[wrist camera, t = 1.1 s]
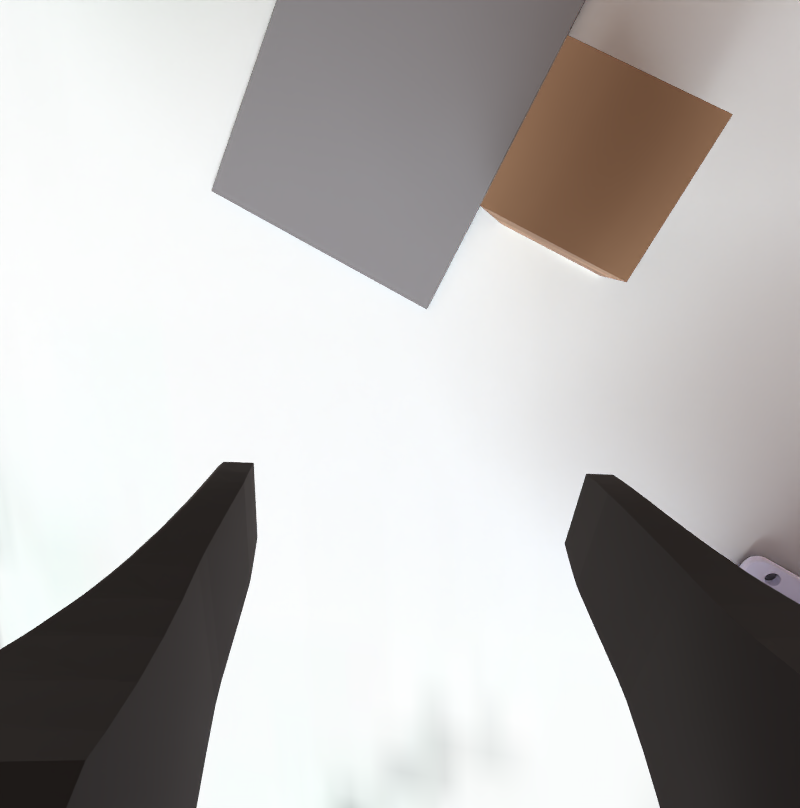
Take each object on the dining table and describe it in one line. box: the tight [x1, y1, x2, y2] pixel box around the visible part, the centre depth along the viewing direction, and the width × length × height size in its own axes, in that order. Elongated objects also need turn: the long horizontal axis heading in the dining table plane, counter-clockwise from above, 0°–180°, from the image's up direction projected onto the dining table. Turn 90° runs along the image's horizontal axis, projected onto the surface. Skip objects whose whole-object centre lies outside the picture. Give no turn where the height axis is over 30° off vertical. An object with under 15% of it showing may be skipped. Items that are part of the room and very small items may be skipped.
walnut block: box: [480, 35, 733, 282], centre depth 16 cm, size 4×4×7 cm
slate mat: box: [212, 0, 585, 309], centre depth 20 cm, size 10×12×1 cm
